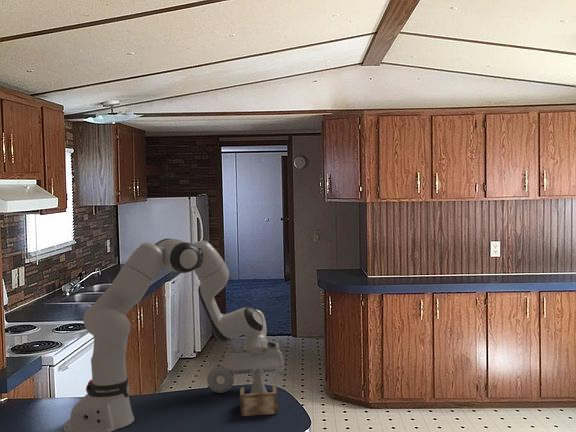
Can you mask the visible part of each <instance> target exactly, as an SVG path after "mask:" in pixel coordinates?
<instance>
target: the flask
mask: <svg viewBox="0 0 576 432" xmlns="http://www.w3.org/2000/svg"><path fill="white" fill-rule="evenodd" d="M253 371H254V380H253V382H252V385H251V388H250V392H249V394H253V393H268V390H267V388H266V385H265V383H264V380H263V378H262V376H261V371H262V369H254V370H253Z"/></svg>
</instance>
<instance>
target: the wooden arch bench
mask: <svg viewBox="0 0 576 432" xmlns="http://www.w3.org/2000/svg"><path fill="white" fill-rule="evenodd" d="M239 393H240V394H239V403H240V404H239V405H240V417H247V416H249V417H250V416H263V415H277V414H279V405H278V404H279V403H278V391H277V385H275V384H274V385H272V392H268V391H267V393H253V394H250V393H245V387H243V386H242V387H240V391H239Z"/></svg>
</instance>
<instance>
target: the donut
mask: <svg viewBox="0 0 576 432" xmlns="http://www.w3.org/2000/svg"><path fill="white" fill-rule="evenodd" d="M220 376H221V377H223V379H224V382H223V383H219V382H218V380H217V377H220ZM234 379H235V378H234V375H233V374H232V373H231V371H230V368H227V367H225V366H220V365H219V366H215V367H213V368H211V370H210V371H209V372H208V375H207V377H206V381H207V385H208V387H209V388H210V390H211V391H213V392H214V393H219V394H224V393H227V392H228V391H230V390H231V388H233V386H234V381H235V380H234Z"/></svg>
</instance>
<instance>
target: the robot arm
mask: <svg viewBox="0 0 576 432" xmlns="http://www.w3.org/2000/svg"><path fill="white" fill-rule="evenodd" d="M225 262H226V261H225V260H224V259H223V257H222V256H221V255H220V253H219V252H218V251H217V249H216V248H214V246H213V245H212V244H211V243H210V242H209V241H206V240H199V241H198V240H197V241H195V242H193V243H190V242H188V241H187V242H186V241H184V240H181V239H176V238H164V239H161V240H159V241H158V242H156V243H151V242H143V243H142V244H140V245H139V246H138V247H137V248H136V249H135V250H134V251H133V252H132V253H131V255H130V256H129V258H128V259H127V260H126V262H124V265H123V266H122V267H121V269H120V270H119V272H118V274H117V275H116V277H115V278H114V279H113V281H112V282H111V283H110V285H109V286H108V288H107V289H106V290H105V291H104V292H103V293H102V294H101V295H100V296H99V297H98V299H96V301H95V302H94V303H93V304H92V305H91V306H89V307H88V308H87V309H86V310H85V312H84V314H83V318H82V319H83V325H84V328H85V329H86V331H87V332H88V333H89V334H90V335H92V336H93V350H92V351H93V352H92V356H91V359H90V365H91V379H89V381H88V383H87V384H86V388H85V392H86V395H84V396H83V397H82V398H81V399H79V400H78V401H77V402H76V404H74V405H73V407H72V409H71V412H70V416H69V417H70V418H69V419H67V421H65V423H64V425H63V428H62V430H63V432H113V431H115V430H118V429H122V428H124V427H127V426H129V425H131V424H132V423H133V422H134V421H135V420H136V419H135V415H134V414H133V410H132V406H131V402H130V397H129V395H130V382H129V378H128V375H127V360H126V359H127V357H126V356H127V346H128V340H129V339H128V338H129V335H130V332H131V326H132V325H131V322H130V320H129V318H128V317H127V314H128V312H130V310H131V309H132V308H133V307H134V306H136V305H137V304H139V302H141V300H142V299H143V297H144V296H145V294H146V292H147V290H148V289H149V288H150V286H151V285H152V283H153V282H154V280H155V279H156V277H157V275H158V273H159V272H160V271H161V270H163V269H164V268H165V269H167V270H169V271H171V272H176V273H181V274H185V273H187V274H188V273H190V272H194V273H195V275H196V276H197V278H198V280H199V286H198V288H197V291H198V295H199V299H200V302H201V304H202V306H203V307H202V308H204V311H205V314H206V315H207V317H208V320H209V322H210V326H211V329H212V332H213V335H214V337H215V338H216V339H217V340H219V341H221V342H225V343H227V342H230V341H231V340H234V339H235V338H238V337H241V336H244V337H245V338H244V349H240V350H233V351H231V352H230V353H229V354H228V358H229V359H228V360H229V362H230V364H229V370H230V371H231V373H232V374H233V376H234V375H247V374H249V375H250V376H251V378H252V380H253V381H254V371H253V370H254V369H262V371H261V376H262V379H263V377H264V376H265V373H277V372H283V371H284V369H285V363H284V356H283V354H282V351H281V350H280V345H279V343H276V342H273V341H268V339H267V334H268V332H267V322H266V318H265V315H264V313H263V312H262V311H261V310H260V309H257V308H256V309H255V308H253V307H251V306H246V307H242V308H239V309H237V310H234V311H231V312H228V313H221V310H220V308H219V306H218V304H217V301H216V299H215V297H216V296H217V295H218V294H219V292H221V291H222V290H223V289H224V288H225V286H227V284H228V281H229V278H230V271H229V268H228V266H227V264H226V263H225Z"/></svg>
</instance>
